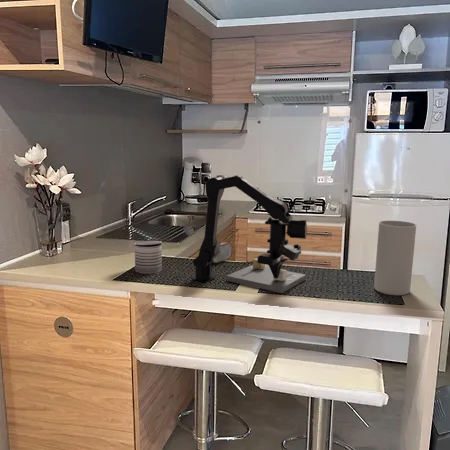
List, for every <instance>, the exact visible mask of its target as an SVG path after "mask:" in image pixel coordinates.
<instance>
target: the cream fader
mask: <svg viewBox="0 0 450 450" xmlns="http://www.w3.org/2000/svg"><path fill="white" fill-rule="evenodd" d="M287 271H288V270H287V269H282V268H281V270H280V273H279V276H278V278H277V279H276V278H274V276H273V279H275V280H280V281H284V280H286V273H287Z"/></svg>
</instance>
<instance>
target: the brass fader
mask: <svg viewBox="0 0 450 450" xmlns="http://www.w3.org/2000/svg"><path fill="white" fill-rule="evenodd" d="M252 265H253V268H256V269H263V268H265V267H266V264H261V263H257V257H256V258H252Z"/></svg>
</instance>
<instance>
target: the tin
mask: <svg viewBox="0 0 450 450" xmlns="http://www.w3.org/2000/svg"><path fill="white" fill-rule="evenodd" d="M220 243H221V244H220V253H218V255H217V257H216V258H214V260H213V262H211V263H212V264H219V263H222V262H223V263H224V262H226V261H228V260H230V258H231V257H232V255H233V245H232V244H231V243H230V242H227V241H221V242H220Z"/></svg>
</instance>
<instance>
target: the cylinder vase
mask: <svg viewBox="0 0 450 450" xmlns="http://www.w3.org/2000/svg"><path fill="white" fill-rule="evenodd" d="M377 231H378V232H377V244H376V254H375V255H376V257H375V258H376V259H375V271H374V281H373V282H374V283H373V288H374V289H375V291H376V292H378V293H380V294H384V295H389V296H405V295H408V294H409V293H411V285H412V284H411V283H412V275H413V265H414V264H413V263H414V253H415V245H416V244H415V243H416V232H417V224H416V223H414V222H409V221H402V220H381V221H379V222H378V230H377Z"/></svg>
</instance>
